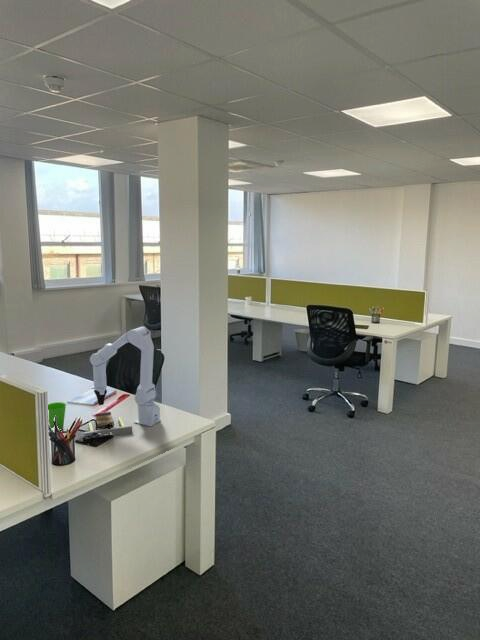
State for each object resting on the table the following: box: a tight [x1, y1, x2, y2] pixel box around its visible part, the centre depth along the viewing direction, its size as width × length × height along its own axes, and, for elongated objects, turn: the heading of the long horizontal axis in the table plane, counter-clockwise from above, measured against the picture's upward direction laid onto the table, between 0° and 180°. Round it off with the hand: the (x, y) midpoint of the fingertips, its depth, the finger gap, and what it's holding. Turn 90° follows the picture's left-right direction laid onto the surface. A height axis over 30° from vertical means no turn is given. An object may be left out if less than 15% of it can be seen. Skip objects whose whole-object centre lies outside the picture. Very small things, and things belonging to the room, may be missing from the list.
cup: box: [47, 401, 67, 430], centre depth 209 cm, size 9×9×11 cm
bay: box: [83, 417, 133, 438], centre depth 209 cm, size 14×20×3 cm
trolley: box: [94, 411, 115, 429], centre depth 216 cm, size 10×7×4 cm
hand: (101, 404), depth 226 cm, fingers closed
